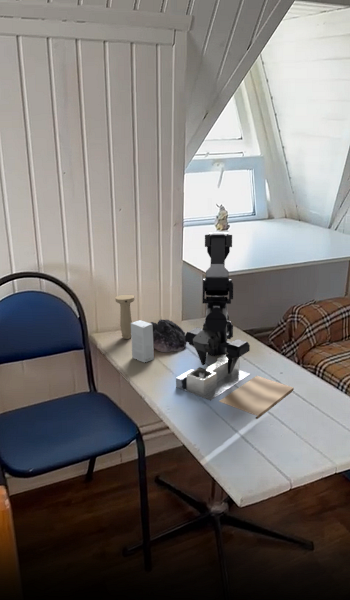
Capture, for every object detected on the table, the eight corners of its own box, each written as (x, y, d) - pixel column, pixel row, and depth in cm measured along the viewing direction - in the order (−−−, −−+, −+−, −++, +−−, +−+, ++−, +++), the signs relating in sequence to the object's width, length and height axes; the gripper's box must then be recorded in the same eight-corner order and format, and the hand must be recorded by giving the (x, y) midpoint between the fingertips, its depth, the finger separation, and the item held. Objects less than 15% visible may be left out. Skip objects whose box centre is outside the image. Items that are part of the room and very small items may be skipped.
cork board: (256, 378, 161) (256, 375, 161) (293, 390, 154) (293, 387, 154) (218, 404, 148) (218, 401, 147) (257, 419, 140) (257, 415, 140)
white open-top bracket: (223, 366, 167) (223, 353, 166) (240, 372, 163) (240, 358, 162) (186, 389, 154) (186, 374, 153) (203, 395, 150) (203, 380, 149)
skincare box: (154, 359, 176) (153, 323, 172) (144, 363, 173) (143, 327, 169) (141, 353, 180) (139, 319, 176) (131, 358, 177) (129, 323, 173)
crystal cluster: (194, 342, 189) (192, 314, 187) (178, 355, 177) (177, 325, 175) (158, 340, 195) (157, 312, 192) (141, 352, 183) (139, 322, 180)
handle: (137, 339, 191) (135, 298, 186) (118, 341, 189) (116, 300, 185) (134, 334, 195) (132, 294, 190) (116, 336, 194) (114, 295, 189)
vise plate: (217, 365, 170) (217, 349, 168) (250, 376, 163) (251, 359, 161) (176, 390, 155) (175, 373, 154) (210, 403, 148) (210, 385, 146)
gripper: (172, 319, 153) (173, 370, 158) (228, 335, 142) (227, 389, 147) (196, 308, 161) (197, 357, 166) (251, 322, 150) (249, 374, 155)
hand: (216, 369), depth 159 cm, fingers open, 9 cm apart
